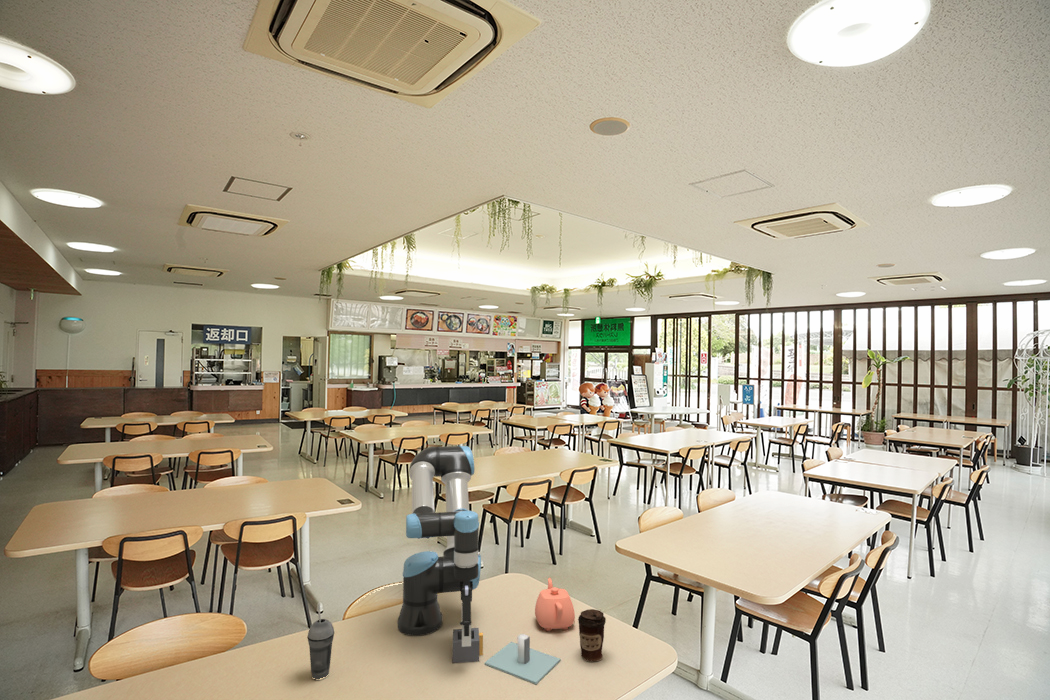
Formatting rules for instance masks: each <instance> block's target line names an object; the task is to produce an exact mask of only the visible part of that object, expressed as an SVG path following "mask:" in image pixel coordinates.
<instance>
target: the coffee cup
mask: <svg viewBox="0 0 1050 700" xmlns="http://www.w3.org/2000/svg"><path fill="white" fill-rule="evenodd" d="M577 620H578V621H577V622H578V631H579V632H578V633H579V645H580V646H579V647H580V654H581V658H582V659H583V660H585V661H587V662H591V663H592V662H593V663H594V662H599V661H601V660H603V652H602V651H603V645H604V641H605V640H604V638H605V624H606V621H607V620H606V617H605V616H604V612H603V611H601V610H599V609H594V608H592V609H591V608H590V609H585V610H583V611H581V612H580V614H579V615H578V619H577Z"/></svg>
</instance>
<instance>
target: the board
mask: <svg viewBox="0 0 1050 700" xmlns="http://www.w3.org/2000/svg"><path fill="white" fill-rule="evenodd" d="M530 638H531V637H530V636H529V635H527V634H525V633H520V634H518V635H517V643H516V642H513V641H510V642H509V643H508V644H506V645H505V646H504V647H502V648H501V649H500V650H499V651H497V652H496V653H495V654H494V655H492V656H491V657H490V658H489V659H487V660H486V661H484V665H485V666H487V667H490V668H492V669H495V670H497V671H501V672H503V673H506V674H508V675H511V676H513V677H515V678H517V679H520V680H523V681H526V682H528V683H531V684H534V685H538V684H539V683H540V682H541V681H542V680H543V679H544V678H545V676H547V675H548V674H549V673H550V672H551V671H552V670H553V669H554V668H555V667H556V666H557V665H558V664H559V663H560V662H561V661H562V660H561V658H559V657H556V656H553V655H552V654H551V655H550V654H547V653H544V652H542V651H540V650H536V649H534V648H531V647H530V644H531V641H530V640H531V639H530Z"/></svg>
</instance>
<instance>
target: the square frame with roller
mask: <svg viewBox="0 0 1050 700" xmlns="http://www.w3.org/2000/svg"><path fill="white" fill-rule="evenodd" d="M479 630H480V629H479V627H471V646H466V647H462V628H454V629H452V664H458V663H462V664H463V663H475V662H480V656H483V655H484V633H483V632H480V631H479Z"/></svg>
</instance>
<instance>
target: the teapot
mask: <svg viewBox="0 0 1050 700" xmlns="http://www.w3.org/2000/svg"><path fill="white" fill-rule="evenodd" d="M535 602H536V603H535V606H534V607H535V608H534V616H535V619H536V621H537V623H538V625H539V626H540V627H541V628H544V631H546V632H550V631H552V630H553V629H555V630H557V629H561V630H564V631H565V630H569V627H571V626H572V625H573V624H574V622H575V619H576V615H575V608H574V604H573V601H572V599H571V596H570V595H569V592H568V591H567V590H566V589H565V588H558V587H555V586H553V581H552V578H551V577H548V579H547V588H544V589H542V590H540V591H539V594H538V597H537V599H536V601H535Z"/></svg>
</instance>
